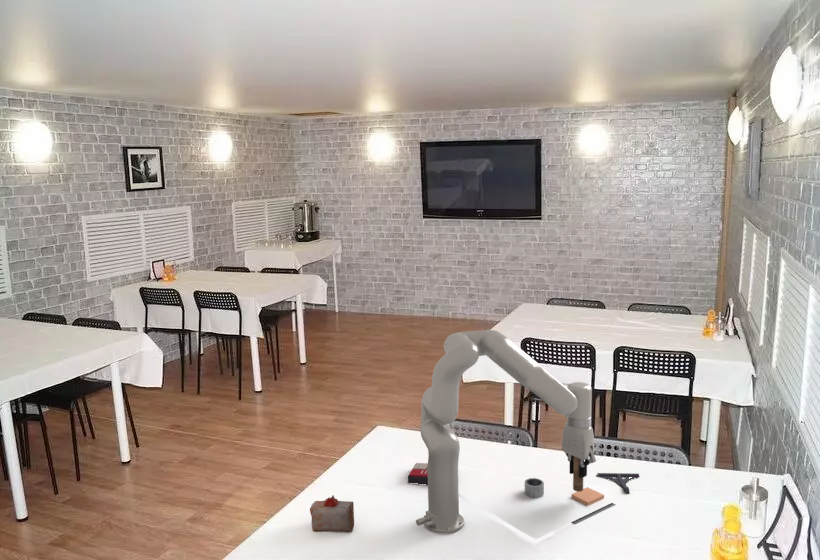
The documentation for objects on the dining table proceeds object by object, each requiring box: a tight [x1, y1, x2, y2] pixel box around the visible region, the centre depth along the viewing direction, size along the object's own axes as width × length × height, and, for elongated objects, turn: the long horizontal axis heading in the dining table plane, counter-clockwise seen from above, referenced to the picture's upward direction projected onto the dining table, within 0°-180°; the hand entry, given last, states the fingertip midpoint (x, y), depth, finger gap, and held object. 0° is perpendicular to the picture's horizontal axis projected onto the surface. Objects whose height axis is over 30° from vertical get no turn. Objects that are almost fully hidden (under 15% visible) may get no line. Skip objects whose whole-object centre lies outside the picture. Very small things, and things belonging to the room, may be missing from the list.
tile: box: [571, 487, 605, 506], centre depth 214 cm, size 2×7×8 cm
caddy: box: [524, 477, 545, 499], centre depth 218 cm, size 6×6×5 cm
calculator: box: [407, 462, 428, 486], centre depth 233 cm, size 11×4×15 cm
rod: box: [572, 457, 584, 492], centre depth 210 cm, size 3×3×14 cm
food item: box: [309, 495, 355, 533], centre depth 201 cm, size 14×8×10 cm, turn 84°
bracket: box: [596, 472, 640, 495], centre depth 225 cm, size 14×15×3 cm
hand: (578, 474), depth 210 cm, fingers closed on rod, 3 cm apart
